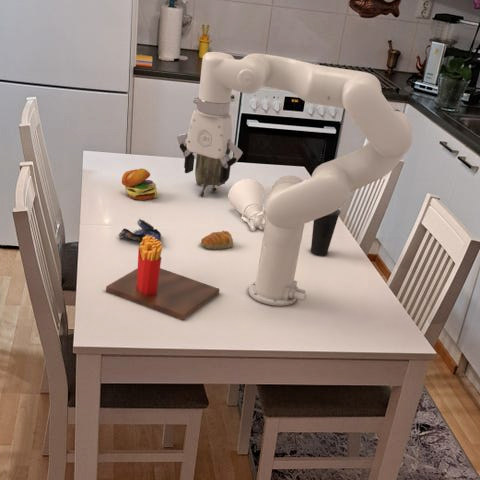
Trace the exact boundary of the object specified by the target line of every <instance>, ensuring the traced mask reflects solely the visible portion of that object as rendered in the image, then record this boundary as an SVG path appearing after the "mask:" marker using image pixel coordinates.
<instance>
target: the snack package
mask: <svg viewBox="0 0 480 480" xmlns="http://www.w3.org/2000/svg"><path fill="white" fill-rule="evenodd" d="M136 222H137V225H138V226H139V228H138V229H136V230H133V231H131V230H130V229H128V228H123V229H122V230H121V232H119V234H117V236H118V237H119V238H118V239H121V238H122V237H123V238H126V239H130V240H135V241H138V242H142V240H143V237H145V236H146V235H148V237H150V236H152V238H153V237H155V240H156V239H157V241H159V240H160V242H161V241H162V238H161V237H162V234H161V232H160V231H159V230H158V228H155V227H154V226H153V225H151V223H149V222H148V221H146V220H143V219H141V218H139V219H137V221H136ZM152 238H151V239H152Z"/></svg>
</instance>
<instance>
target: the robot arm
mask: <svg viewBox="0 0 480 480" xmlns="http://www.w3.org/2000/svg"><path fill="white" fill-rule="evenodd" d="M381 84H382V83H381V82H380V80H379V79H378V77H376V76H375V75H374V74H373V73H370V72H366V71H361V70H355V69H348V68H347V69H346V68H340V67H332V66H327V65H320V64H314V63H310V62H307V61H303V60H302V61H301V60H298V59H294V58H290V57H285V56H278V55H274V54H273V55H272V54H266V53H256V52H255V53H249V54H247V55H245V56H244V57H243V58H241V59H236V58H235V57H234V56H233V55H232V54H229V53H227V52H222V51H207V52H206V53H204V54H203V56H202V61H201V71H200V79H199V90H198V97H194V98H193V101H192V103H193V104H195V105H196V109H193V112H192V115H191V119H190V122H189V127H188V131H187V132H185V133H182V134H179V135H177V137H176V139H177V142H178V144H179V149H180V150H181V152H182V155H183V157H184V163H183V164H184V165H183V168H184V174H189V173H191V172H193V171H194V167H195V155H194V154H196V155H197V154H199V155H203V156H207V157H210V158H214V159H220V161H221V162H222V164H223V167H221V172H220V180H219V182H220V183H224V182H225V183H226V182H228V180H229V179H230V174H231V168H232V166H233V165H235V164H236V163H237V162H238V161H239V159H240V158H241V157H242V155H243V154H244V153H243V151H242V150H241V149H240V148H239V147H238V146H237V145H236V144H234V142H233V140H232V139H233V122H232V115H231V114H230V110H231V109H230V107H231V100H232V91H236V92H239V93H242V94H247V95H248V94H249V95H251V94H254V93H258V92H259V90H261V89H262V87H264V88H271V89H276V90H282V91H286V92H289V93H292V94H294V95H295V96H297V97H298V98H299V99H301V100H302V101H303V102H306V103H308V104H314V105H320V106H329V107H334V108H335V107H336V108H340V109H344V110H345V112H346V113H347V115H348V117H349V118H350V119H351V121H352V122H353V123H354V125H355V126H356V128H357V129H358V130H359V131H360V133H361V134H362V135H363V136H364V138H365V139H366V140H367V141H368V142H367V143H366V144H365V145H363V146H361V147H360V148H358V149H355V150H354V151H352V152H349V153H347V154H345V155H341V156H339V157H337V158H334V159H331V160H329V161H326V162H323V163H320V165H318V166H316V167H315V168H314V169H313V172H312V174H311V176H310V178H307V179H305V180H303V179H302V178H300V177H298V176H296V175H285V176H281V177H280V178H279V179H277V180H276V181H275V182H274V184H273V185H272V186H271V189H270V191H269V193H268V196H267V198H266V201H265V206H264V214H265V218H266V223H265V225H264V228H263V229H264V230H263V236H262V242H261V248H260V255H259V260H258V267H257V274H256V281H254V282H252V283H251V284H250V285H249V286H248V294H249V296H250V297H251V298H252V299H253V300H255V301H256V302H259V303H261V304H264V305H269V306H275V307H277V306H278V307H282V306H283V307H284V306H289V305H292V304H294V303H296V301H297V300H298V301H301V302H306V300H307V297H308V295H307V294H306V293H307V290H305V289H303V288H299V287H298V281H297V280H295V277H296V271H297V266H298V259H299V255H300V248H301V244H302V240H303V233H304V229H305V224H307V223H309V222H314V220H315V219H318V218H321V217H323V216H326V215H328V214H331V213H333V212H335V211H336V210H338V209H339V210H340V209H341V208H342V207H343V206H344V205H345V204H346V202H347V200H348V199H349V195H350V194H351V193H352V192H354V191H356V190H358V189H361V188H363V187H366V186H368V185H370V184H372V183H375V182H377V181H378V180H380V179H382V178H384V177H386V176H387V175H388V174H389V173H391V172H392V171H393V170H394V169H395V168H396V167H397V166H398V164H399V163H400V162H401V160H402V159H403V157H404V156H405V154H407V153H408V152H409V150H410V148H411V146H412V145H413V126H412V122H411V120H410V118H409V117H408V116H407V114H405V113H404V112H402V111H400V110H395V109H394V108H393V107H392V105H391V104H390V102H389V101H388V99H386V97H385V96H384V94H383V92H382V90H383V89H382V85H381ZM231 152H232V153H233V156H232V157H231V156H230V153H231Z"/></svg>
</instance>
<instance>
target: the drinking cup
mask: <svg viewBox="0 0 480 480" xmlns="http://www.w3.org/2000/svg"><path fill="white" fill-rule="evenodd" d="M340 215H341V210H340V208H339V209H338V210H336V211H335V212H333V213H331V214H328V215H326V216H323V217H321V218H318V219H315V220H313V224H312V234H311V235H312V236H311V243H310V244H311V245H310V253H311V254H313V255H314V256H316V257H317V256H318V257H325V256H327V255H328V252H329V249H330V245H331V242H332V240H333V235H334V233H335V230H336V225H337V224H338V223H337V222H338V220H339V216H340Z"/></svg>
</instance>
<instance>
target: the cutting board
mask: <svg viewBox="0 0 480 480" xmlns="http://www.w3.org/2000/svg"><path fill="white" fill-rule="evenodd" d="M137 269H138V267H136V269H134V270H132V271H130V272H128V273H127V274H125V275H124V276H122V277H120V278H118V279H117V280H115V281H113V282H111V283H109V284H108V285H106V286H105V292H106V293H108V294H110V295H114V296H117V297H119V298H122V299H124V300H127V301H130V302H133V303H136V304H137V305H141V306H142V307H143V306H144V307H146V308H149V309H152V310H154V311H157V312H160V313H162V314H165V315H168V316H170V317H172V318H176V319H178V320H181V321H185V320H186V319H187V318H189V316H191V315H192V314H195V312H196V311H198V310H199V309H201V308H202V307H203V306H204V305H206V304H207V303H209V302H210V301H212V300H213V299H214V298H215V297H217V296H218V295H220V288H219V287H216V286H213V285H210V284H207V283H204V282H201V281H198V280H196V279H192V278H189V277H187V276H184V275H181V274H178V273H175V272H173V271H170V270H167V269H165V268H161V267H160V272H159V280H158V288H157V292H156V294H154V295H145V294H143V293H141V292H140V290H139V289H138V287H137Z"/></svg>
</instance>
